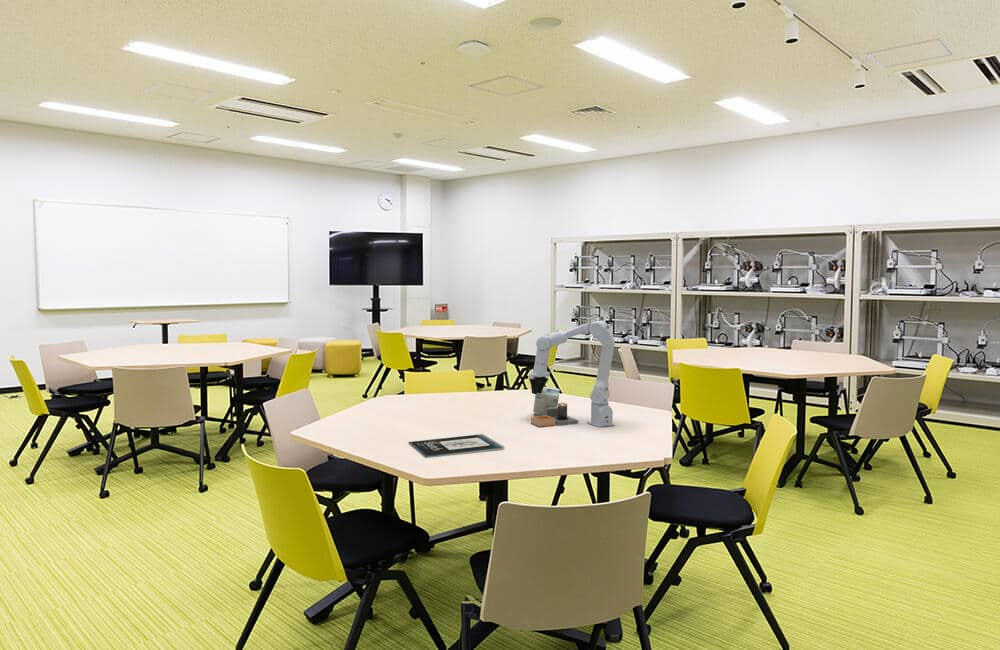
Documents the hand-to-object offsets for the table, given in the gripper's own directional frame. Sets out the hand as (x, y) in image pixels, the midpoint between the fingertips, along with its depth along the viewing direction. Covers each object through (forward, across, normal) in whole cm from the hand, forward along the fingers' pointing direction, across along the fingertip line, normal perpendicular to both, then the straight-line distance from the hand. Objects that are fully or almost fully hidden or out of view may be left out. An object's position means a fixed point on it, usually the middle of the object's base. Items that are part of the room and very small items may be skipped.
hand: (536, 393), depth 298 cm
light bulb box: (+9, -10, 0) cm, 14 cm away
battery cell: (+9, 0, +15) cm, 17 cm away
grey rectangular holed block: (+9, -1, +14) cm, 16 cm away
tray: (+10, +9, +11) cm, 17 cm away
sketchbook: (+14, +59, +4) cm, 61 cm away
